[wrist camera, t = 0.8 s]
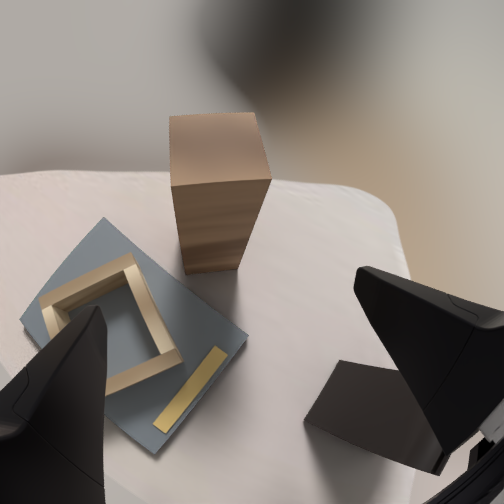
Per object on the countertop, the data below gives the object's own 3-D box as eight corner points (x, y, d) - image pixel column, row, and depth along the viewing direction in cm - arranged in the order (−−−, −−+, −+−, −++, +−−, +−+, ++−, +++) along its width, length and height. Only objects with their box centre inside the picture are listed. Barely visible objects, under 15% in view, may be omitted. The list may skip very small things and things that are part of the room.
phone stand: (302, 419, 21) (383, 457, 10) (338, 359, 23) (434, 349, 12) (375, 454, 20) (467, 484, 9) (405, 400, 22) (502, 402, 11)
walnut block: (237, 268, 25) (272, 178, 13) (185, 274, 24) (170, 186, 12) (230, 221, 26) (254, 112, 14) (180, 227, 25) (169, 116, 13)
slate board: (247, 336, 23) (249, 335, 22) (156, 450, 18) (154, 455, 17) (106, 221, 24) (103, 215, 23) (25, 321, 19) (18, 319, 18)
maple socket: (184, 361, 20) (181, 361, 17) (93, 401, 18) (78, 406, 15) (139, 265, 22) (131, 251, 19) (55, 305, 20) (38, 297, 17)
